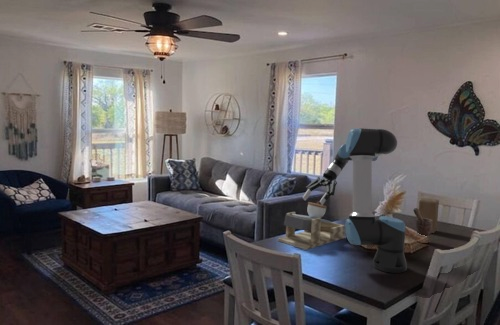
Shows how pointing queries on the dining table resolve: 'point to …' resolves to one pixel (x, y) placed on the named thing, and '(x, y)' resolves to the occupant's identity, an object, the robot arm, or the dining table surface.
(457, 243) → the dining table surface
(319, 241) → the stand
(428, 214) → the block
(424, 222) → the mortar and pestle
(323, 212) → the lidded jar
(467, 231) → the dining table surface
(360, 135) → the robot arm
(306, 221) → the grey flat box
